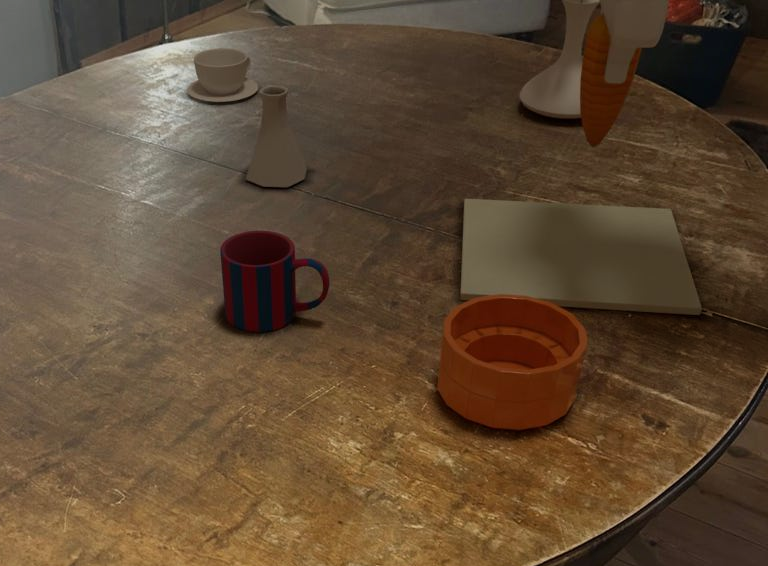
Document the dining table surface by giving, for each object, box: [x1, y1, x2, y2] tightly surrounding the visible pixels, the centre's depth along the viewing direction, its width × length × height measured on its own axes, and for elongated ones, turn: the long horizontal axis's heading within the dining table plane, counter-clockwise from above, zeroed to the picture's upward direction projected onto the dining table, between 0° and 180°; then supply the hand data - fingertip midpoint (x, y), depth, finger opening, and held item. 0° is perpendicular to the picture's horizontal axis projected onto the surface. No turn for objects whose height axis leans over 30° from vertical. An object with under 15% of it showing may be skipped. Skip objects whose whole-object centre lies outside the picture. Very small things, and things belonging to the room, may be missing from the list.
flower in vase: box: [518, 0, 600, 120], centre depth 113 cm, size 13×11×25 cm
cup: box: [219, 230, 330, 333], centre depth 85 cm, size 7×10×7 cm
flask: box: [245, 84, 308, 188], centre depth 106 cm, size 7×7×10 cm
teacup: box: [186, 47, 259, 103], centre depth 128 cm, size 10×10×5 cm
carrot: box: [580, 14, 643, 148], centre depth 82 cm, size 5×5×15 cm
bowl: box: [436, 294, 588, 431], centre depth 76 cm, size 11×11×6 cm
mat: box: [459, 198, 703, 316], centre depth 94 cm, size 22×20×1 cm
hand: (609, 67), depth 82 cm, fingers closed on carrot, 5 cm apart
